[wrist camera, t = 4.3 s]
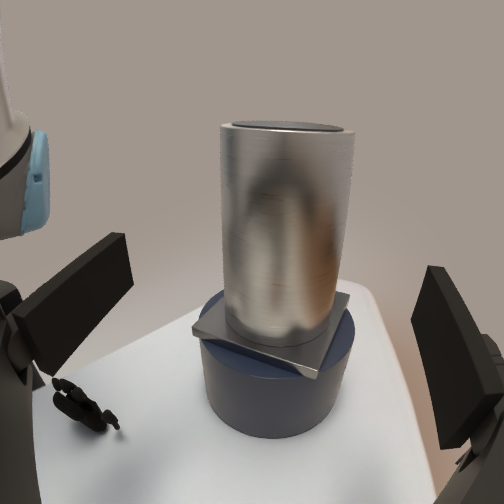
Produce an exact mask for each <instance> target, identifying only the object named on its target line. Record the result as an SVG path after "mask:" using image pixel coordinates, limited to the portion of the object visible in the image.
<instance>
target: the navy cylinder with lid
mask: <svg viewBox="0 0 504 504" xmlns="http://www.w3.org/2000/svg"><path fill="white" fill-rule="evenodd" d="M349 297H350V295H349V294H345V293H341V292H337V291H335V296H334V302H333V307H332V312H331V318H330V321H329V324H328V326H327V328H326V329H325V330H324V331H323V332H322V333H321V334H320V335H319V336H318V337H316V338H314V339H313V340H310V341H308V342H305V343H302V344H299V345H294V346H268V345H263V344H259V343H256V342H253V341H250V340H248V339H246V338H244V337H242V336H241V335H239V334H238V333H237V332H235V331H234V330H233V329H232V327H231V326H230V325H229V323H228V321H227V319H226V316H225V303H224V290H222V291H221V292H219V293H218V294H216V295H215V296H214V297H212V298H211V299H210V300H209V301H208V302H207V303H206V305H205V306H204V307H203V309H202V311H201V313H200V316H199V320H198V321H197V322H196V323H195V324H194V325H193V326H192V333H193V336H195V337H198V338H199V341H200V349H201V357H202V364H203V371H204V378H205V385H206V391H207V396H208V400H209V402H210V405H211V407H212V408H213V410H214V411H215V413H216V414H217V415H218V416H219V417H220V418H221V419H222V420H223V421H224V422H225V423H226V424H228V425H229V426H231V427H232V428H234V429H236V430H238V431H240V432H242V433H245V434H248V435H251V436H256V437H261V438H284V437H290V436H294V435H298V434H300V433H303V432H305V431H307V430H309V429H311V428H313V427H314V426H316V425H317V424H318V423H320V422H321V421H322V420H323V419H324V418H325V417H326V416H327V414H328V413H329V412H330V410H331V408H332V406H333V404H334V401H335V399H336V396H337V393H338V390H339V387H340V384H341V381H342V377H343V374H344V371H345V368H346V365H347V361H348V358H349V355H350V351H351V348H352V345H353V341H354V336H355V327H354V321H353V319H352V316H351V314H350V313H349V311H348V309H347V305H348V302H349Z"/></svg>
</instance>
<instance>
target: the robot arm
mask: <svg viewBox="0 0 504 504" xmlns="http://www.w3.org/2000/svg"><path fill="white" fill-rule="evenodd" d="M49 213H50V171H49V148H48V138H47V135H46V133H45V132H44V131H38V130H36V131H34V132H32V133H31V130H30V126H29V121H28V118H27V117H26V115H25V114H24V113H22V112H20V111H17V110H14V109H12V105H11V100H10V95H9V89H8V84H7V77H6V71H5V63H4V55H3V47H2V35H1V17H0V240H4V239H8V238H12V237H16V236H22V235H24V234H25V233H28V232H30V231H34V230H37V229H40V228H42V227H43V226H44V225H45V224H46V222H47V220H48V218H49ZM133 285H134V282H133V277H132V273H131V267H130V262H129V256H128V251H127V245H126V239H125V234H124V233H115V232H111V233H110V234H109V235H107V236H106V237H105V238H103V239H102V240H100V241H99V242H98V243H96V244H95V245H94V246H92V247H91V248H90V249H88V250H87V251H86V252H84V253H83V254H82V255H80V256H79V257H78V258H76V259H75V260H74V261H73V262H71V263H70V264H69V265H67V266H66V267H65V268H64V269H62V270H61V271H60V272H58V273H57V274H56V275H55V276H54V277H52V278H51V279H50V280H49V281H47V282H46V283H44V284H43V285H42V286H41V287H39V288H38V289H37V290H36V291H35V292H33V293H32V294H31V295H30V296H29V297H28V298H26V299H25V300H24V301H23V302H22V303H20V304H19V305H18V306H17V307H16V308H15V309H14V310H12V311H11V312H10V313H9V314H8V315H7V316H5V314H4V311H3V309H2V307H1V304H0V504H41V498H40V492H39V486H38V479H37V472H36V463H35V453H34V441H33V422H32V376H33V371H32V367H31V365H30V363H31V362H32V361H33V360H34V361H35V362H36V364H37V366H38V368H39V370H40V371H42V372H44V373H46V374H48V375H50V376H52V377H53V376H54V375H55V374H56V373H57V371H58V370H59V369H60V368H61V367H62V365H63V364H64V363H65V362H66V361H67V359H68V358H69V357H70V356H71V355H72V354H73V352H74V351H75V350H76V349H77V348H78V346H79V345H80V344H81V343H82V342H83V341H84V339H85V338H86V337H87V336H88V335H89V334H90V333H91V332H92V330H93V329H94V328H95V327H96V326H97V325H98V324H99V322H100V321H101V320H102V319H103V318H104V317H105V316H106V315H107V314H108V312H109V311H110V310H111V309H112V308H113V307H114V306H115V305H116V304H117V303H118V301H119V300H120V299H121V298H122V297H123V296H124V295H125V294H126V293H127V292H128V291H129V289H130V288H131V287H132V286H133ZM411 323H412V326H413V330H414V333H415V336H416V340H417V344H418V347H419V351H420V355H421V358H422V363H423V366H424V370H425V375H426V379H427V383H428V387H429V392H430V396H431V401H432V406H433V411H434V416H435V422H436V427H437V432H438V438H439V445H440V449H441V450H444V449H453V448H460V447H461V446H462V445H463V444H464V443H465V442H466V441H467V440H468V439H469V437H470V441H471V447H470V449H469V450H468V451H467V452H466V453H465V454H464V455H462V457H461V458H459V459H458V461H457V462H456V463H455V464H457V465H458V464H459V463H460V464H459V466H458V467H457V469H456V471H455V472H454V474H453V475H452V477H451V478H450V480H449V482H448V483H447V485H446V486H445V488H444V489H443V491H442V492H441V493H440V495H439V496H438V498H437V499H436V500H435V502H434V503H433V504H504V359H503V357H501V353H500V350H499V348H498V346H497V344H496V343H495V342H494V341H493V340H492V339H491V338H490V337H489V336H488V335H487V334H481V333H480V331H479V329H478V327H477V326H476V323H475V322H474V320H473V318H472V316H471V314H470V312H469V310H468V308H467V306H466V305H465V303H464V301H463V299H462V297H461V295H460V294H459V292H458V291H457V288H456V287H455V285H454V283H453V282H452V280H451V278H450V277H449V275H448V273H447V272H446V270H445V268H444V267H438V266H429V265H428V267H427V271H426V274H425V277H424V281H423V284H422V287H421V290H420V294H419V296H418V300H417V303H416V305H415V308H414V311H413V314H412V317H411Z"/></svg>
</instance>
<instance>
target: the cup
mask: <svg viewBox="0 0 504 504" xmlns="http://www.w3.org/2000/svg"><path fill="white" fill-rule="evenodd" d="M354 141H355V132H353V131H351V130H347V129H343V128H340V127H335V126H330V125H323V124H314V123H304V122H289V121H240V122H233V123H227V124H222V125H220V163H221V164H220V169H221V170H220V171H221V217H222V252H223V277H224V278H223V279H224V303H225V316H226V319H227V321H228V323H229V325H230V326H231V327H232V329H233V330H234V331H235V332H237V333H238V334H239V335H241V336H242V337H244V338H246V339H248V340H250V341H253V342H256V343H259V344H263V345H268V346H294V345H299V344H302V343H305V342H308V341H310V340H313V339H314V338H316V337H318V336H319V335H320V334H321V333H322V332H323V331H324V330H325V329H326V328H327V326H328V324H329V321H330V318H331V312H332V307H333V302H334V296H335V291H336V285H337V279H338V273H339V267H340V261H341V255H342V248H343V241H344V234H345V227H346V219H347V211H348V203H349V195H350V185H351V176H352V165H353V154H354Z"/></svg>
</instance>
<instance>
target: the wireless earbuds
mask: <svg viewBox="0 0 504 504" xmlns="http://www.w3.org/2000/svg"><path fill="white" fill-rule="evenodd" d="M52 384H53V387H54V388H55V390H56V391H57V392H56V393H55V394H54V396H53V403H54V405H55V406H56V408H58V409H59V410H60V411H62V412H63V413H64V414H66V415H67V416H69V417H70V418H71V419H73V420H75V421H80V422H81V423H83V424H84V425H86V426H87V427H89V428H90V429H92V430H93V431H95V432H103V431H104V430H105V429H106V427H107V423H108V424H112V425H113V426H114V428H115V429H116V430H119V429H120V426H119V424H118V419H117V417H116V416H115V415H114V414H113V413H112V412H111V411H110V410H105V411H104V412H103V413H102V412H101V410H100V409H99V407H98V405H97V403H96V402H95V401H92V400H91V399H89V398H87V396H86V394H85V393H84V392H83V390H82V389H81V388H80V387H77V386H76V385H75V384H73V383H72V382H70V381H67V380H65V379H60V380H59V379H57V378H52ZM61 390H63V392H64V393H67V395H66V397H65V396H64V395H62V394H61V393H60V392H58V391H61ZM72 390H73V391H72Z"/></svg>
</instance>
